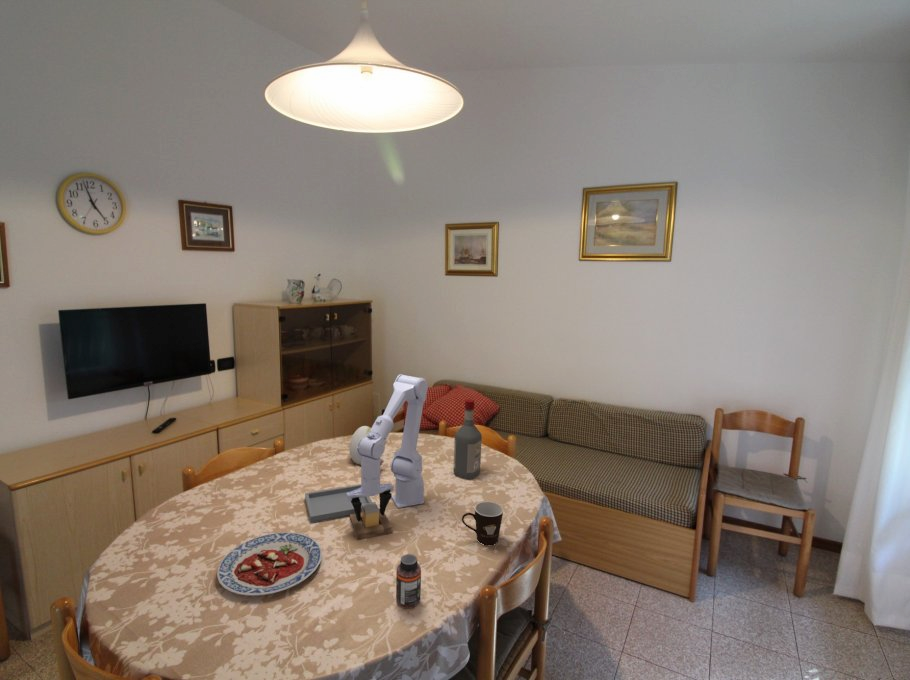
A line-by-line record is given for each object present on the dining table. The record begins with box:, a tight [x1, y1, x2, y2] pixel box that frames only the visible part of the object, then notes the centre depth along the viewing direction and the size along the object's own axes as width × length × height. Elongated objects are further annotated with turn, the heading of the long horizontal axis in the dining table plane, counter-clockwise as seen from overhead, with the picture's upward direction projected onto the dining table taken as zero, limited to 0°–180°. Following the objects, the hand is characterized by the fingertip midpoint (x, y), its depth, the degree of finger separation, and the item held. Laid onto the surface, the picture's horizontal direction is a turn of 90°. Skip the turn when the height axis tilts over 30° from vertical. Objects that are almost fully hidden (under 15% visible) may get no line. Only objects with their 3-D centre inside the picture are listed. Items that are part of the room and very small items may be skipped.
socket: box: [349, 508, 393, 541], centre depth 143 cm, size 11×12×2 cm
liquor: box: [453, 398, 482, 480], centre depth 179 cm, size 9×9×30 cm
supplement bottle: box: [395, 553, 422, 609], centre depth 111 cm, size 6×6×11 cm
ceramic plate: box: [216, 532, 323, 597], centre depth 122 cm, size 26×26×3 cm
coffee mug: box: [461, 500, 504, 546], centre depth 138 cm, size 12×9×10 cm
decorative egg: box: [348, 425, 372, 466], centre depth 189 cm, size 12×12×15 cm
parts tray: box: [304, 483, 373, 524], centre depth 155 cm, size 20×16×2 cm
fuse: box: [361, 501, 380, 528], centre depth 143 cm, size 4×5×6 cm
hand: (370, 516), depth 143 cm, fingers open, 7 cm apart
